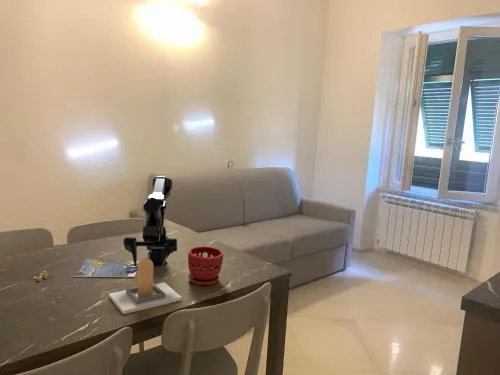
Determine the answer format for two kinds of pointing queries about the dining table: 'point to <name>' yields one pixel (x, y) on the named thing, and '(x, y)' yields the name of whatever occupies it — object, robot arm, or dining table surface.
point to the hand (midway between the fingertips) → (148, 266)
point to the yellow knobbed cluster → (42, 276)
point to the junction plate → (144, 298)
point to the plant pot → (204, 265)
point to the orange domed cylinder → (145, 278)
